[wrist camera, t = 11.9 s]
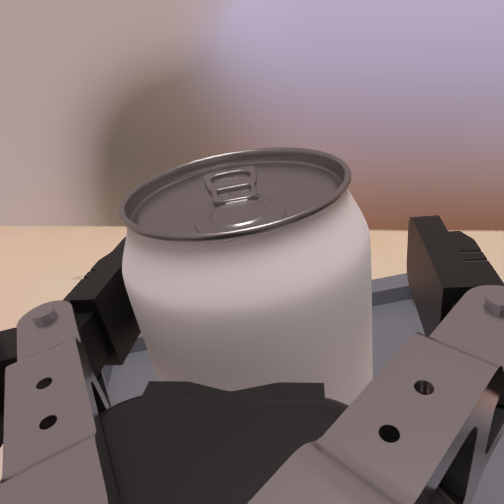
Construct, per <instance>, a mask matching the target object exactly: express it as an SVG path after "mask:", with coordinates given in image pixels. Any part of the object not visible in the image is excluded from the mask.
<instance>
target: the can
mask: <svg viewBox="0 0 504 504" xmlns="http://www.w3.org/2000/svg"><path fill="white" fill-rule="evenodd" d="M350 181H351V171H350V169H349V167H348V165H347V164H346V163H345V162H344V161H343V160H341V159H340V158H338V157H336V156H334V155H331V154H328V153H325V152H322V151H317V150H311V149H303V148H260V149H249V150H242V151H235V152H229V153H223V154H219V155H214V156H209V157H206V158H201V159H198V160H194V161H191V162H188V163H184V164H182V165H178V166H176V167H173V168H170V169H168V170H165V171H163V172H161V173H159V174H156V175H154V176H152V177H151V178H149V179H147V180H145V181H143V182H142V183H140V184H139V185H137V186H136V187H135V188H133V189H132V190H131V191H130V192H129V193H128V194H127V195H126V196H125V197H124V198H123V200H122V202H121V204H120V206H119V216H120V219H121V221H122V222H123V224H124V225H125V226H126V227H127V235H126V241H125V247H124V252H123V260H122V275H123V279H124V283H125V287H126V290H127V293H128V296H129V300H130V303H131V306H132V308H133V311H134V314H135V317H136V320H137V322H138V325H139V328H140V331H141V334H142V336H143V339H144V342H145V345H146V347H147V350H148V353H149V356H150V358H151V361H152V364H153V366H154V369H155V372H156V375H157V377H158V380H159V381H187V382H193V383H197V384H201V385H205V386H209V387H213V388H217V389H221V390H225V391H236V390H242V389H247V388H252V387H257V386H262V385H267V384H272V383H277V382H295V383H324V389H325V398H329V399H333V400H336V401H339V402H342V403H344V404H347V405H350V404H351V403H352V402H353V401H354V400H355V399H356V397H357V396H358V395H359V394H360V393H361V392H362V391H363V390H364V388H365V387H366V386H367V385H368V384H369V383H370V382H371V381H372V379H373V364H372V281H371V247H370V236H369V229H368V226H367V223H366V220H365V218H364V216H363V214H362V212H361V211H360V209H359V207H358V205H357V204H356V202H355V200H354V199H353V197H352V195H351V193H350V191H349V189H348V186H349V184H350Z"/></svg>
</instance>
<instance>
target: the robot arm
mask: <svg viewBox="0 0 504 504" xmlns="http://www.w3.org/2000/svg"><path fill="white" fill-rule="evenodd" d="M125 241H126V237H125V238H124V239H123V240H122V241H121V242H120V243H119V244H118V246H117V247H116V248H115V249H114V250H113V251H112V252H111V253H109V254H108V255H106V256H105V257H103V258H102V259H100V260H99V261H98V262H97V263H96V264H95V265H94V266H93V267H92V269H91V271H89V272H88V273H87V274H86V275H85V276H84V279H82V280H81V281H80V282H79V283H78V284H77V285H76V286H75V287H74V289H73V290H72V291H71V292H70V293H69V294H68V295H67V296H66V297H65V298H64V300H63V301H61V300H60V301H52V302H48V303H45V304H42V305H40V306H38V307H36V308H34V309H32V310H30V311H29V312H28V313H26V314H25V315H24V316H23V317H22V318H21V319H20V320H19V322H18V324H17V328H12V329H8V330H4V331H0V447H1V446H2V444H3V474H2V479H1V481H0V504H471V502H472V500H473V497H474V495H475V493H476V490H477V487H478V484H479V481H480V479H481V476H482V473H483V471H484V469H485V467H486V465H487V463H488V461H489V459H490V457H491V455H492V453H493V451H494V449H495V447H496V446H497V444H498V442H499V440H500V438H501V436H502V434H503V432H504V283H503V282H502V280H501V279H500V277H499V276H498V274H497V273H496V271H495V270H494V268H493V267H492V265H491V264H490V263H489V261H487V258H486V257H485V255H484V254H483V252H481V249H480V248H479V246H478V245H477V243H476V242H475V240H474V239H472V238H471V237H469V236H467V235H465V234H464V233H462V232H460V231H451V232H448V231H447V229H446V227H445V225H444V224H443V222H442V220H441V219H440V217H439V216H422V217H410V220H409V227H408V248H407V277H408V283H409V287H410V290H411V293H412V296H413V299H414V302H415V305H416V308H417V311H418V314H419V317H420V321H421V324H422V327H423V330H424V333H425V335H424V334H422V333H419V332H416V333H414V334H413V335H412V336H411V337H410V338H409V339H408V340H407V341H406V342H405V343H404V344H403V346H402V347H401V348H400V349H399V350H398V351H397V352H396V353H395V355H394V356H393V357H392V358H391V359H390V360H389V361H388V362H387V364H386V365H385V366H384V367H383V368H382V369H381V370H380V371H379V373H378V374H377V375H376V376H375V377H374V378H373V379H372V381H371V382H370V383H369V384H368V385H367V386H366V387H365V388H364V390H363V391H362V392H361V393H360V394H359V395H358V396H357V397H356V399H355V400H354V401H353V402H352V403H351V404H350V405H347V404H344V403H342V402H339V401H336V400H333V399H329V398H325V389H324V383H295V382H277V383H272V384H267V385H262V386H257V387H252V388H247V389H242V390H236V391H225V390H221V389H217V388H213V387H209V386H205V385H201V384H197V383H193V382H187V381H149V382H148V384H147V386H146V389H145V391H144V393H143V395H141V396H137V397H134V398H131V399H128V400H125V401H123V402H120V403H118V404H116V405H114V406H113V403H112V400H111V397H110V393H109V390H108V387H107V383H106V380H105V377H104V375H103V373H102V371H101V370H102V369H103V367H104V365H123V363H124V361H125V359H126V358H127V356H128V354H129V352H130V351H131V349H132V347H133V345H134V344H135V342H136V340H137V338H138V336H139V335H140V333H141V331H140V328H139V325H138V322H137V320H136V317H135V314H134V311H133V308H132V306H131V303H130V300H129V296H128V293H127V290H126V287H125V283H124V279H123V275H122V260H123V252H124V247H125Z"/></svg>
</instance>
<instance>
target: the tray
mask: <svg viewBox="0 0 504 504" xmlns="http://www.w3.org/2000/svg"><path fill="white" fill-rule="evenodd" d="M371 281H372V364H373V378H374V377H375V376H376V375H377V374H378V373H379V371H380V370H381V369H382V368H383V367H384V366H385V365H386V364H387V362H388V361H389V360H390V359H391V358H392V357H393V356H394V355H395V353H396V352H397V351H398V350H399V349H400V348H401V347H402V346H403V344H404V343H405V342H406V341H407V340H408V339H409V338H410V337H411V336H412V335H413V334H414V333H416V332H419V333H422V334H424V335H425V333H424V330H423V327H422V324H421V321H420V317H419V314H418V311H417V308H416V305H415V302H414V299H413V296H412V293H411V290H410V287H409V283H408V277H407V273H406V274H401V275H395V276H390V277H385V278H380V279H374V280H371ZM101 371H102V373H103V375H104V377H105V380H106V383H107V387H108V390H109V393H110V397H111V400H112V403H113V406H114V405H116V404H118V403H120V402H123V401H125V400H128V399H131V398H134V397H137V396H141V395H143V393H144V391H145V389H146V386H147V384H148V382H149V381H159V380H158V377H157V375H156V372H155V369H154V366H153V364H152V361H151V358H150V356H149V353H148V350H147V347H146V345H145V342H144V339H143V336H142V334H141V333H140V335H139V336H138V338H137V340H136V342H135V344H134V345H133V347H132V349H131V351H130V352H129V354H128V356H127V358H126V359H125V361H124V363H123V365H104V367H103V369H102V370H101ZM471 504H504V432H503V434H502V436H501V438H500V440H499V442H498V444H497V446H496V447H495V449H494V451H493V453H492V455H491V457H490V459H489V461H488V463H487V465H486V467H485V469H484V471H483V473H482V476H481V479H480V481H479V484H478V487H477V490H476V493H475V495H474V497H473V500H472V502H471Z"/></svg>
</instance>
